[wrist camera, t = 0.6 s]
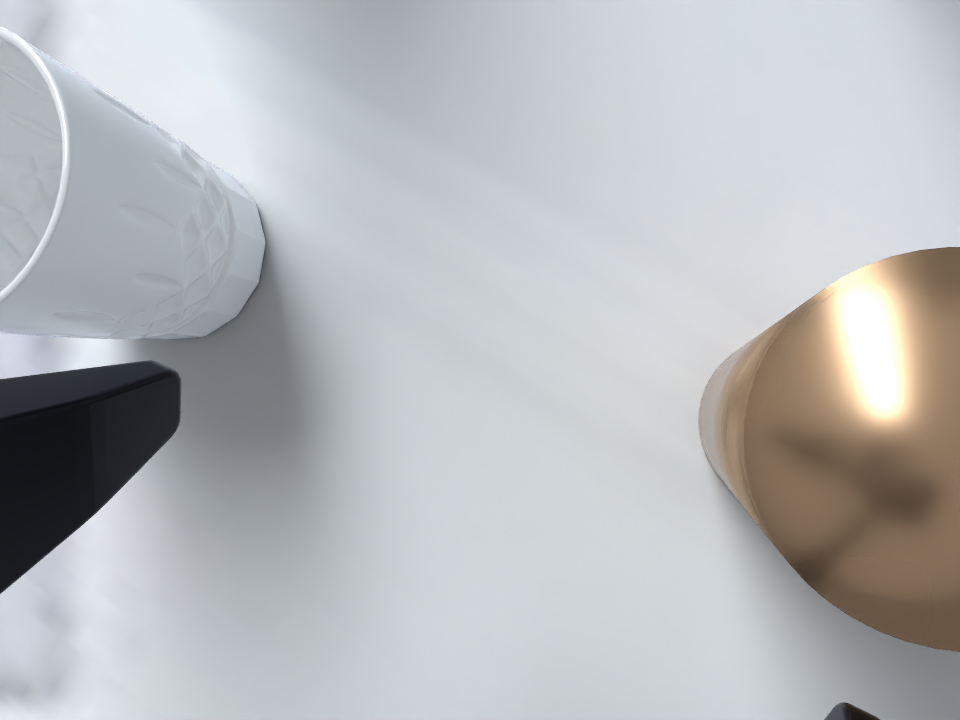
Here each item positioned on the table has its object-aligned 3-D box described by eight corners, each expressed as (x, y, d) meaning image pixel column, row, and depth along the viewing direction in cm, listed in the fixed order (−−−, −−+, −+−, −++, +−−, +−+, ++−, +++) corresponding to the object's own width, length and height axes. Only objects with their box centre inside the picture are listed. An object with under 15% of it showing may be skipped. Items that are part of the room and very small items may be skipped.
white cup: (83, 191, 29) (-203, 85, 20) (254, 121, 28) (33, -33, 18) (124, 380, 28) (-157, 367, 19) (303, 319, 27) (98, 270, 17)
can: (776, 546, 22) (925, 733, 10) (662, 406, 23) (664, 409, 11) (929, 440, 21) (1310, 492, 9) (804, 299, 22) (986, 165, 10)
